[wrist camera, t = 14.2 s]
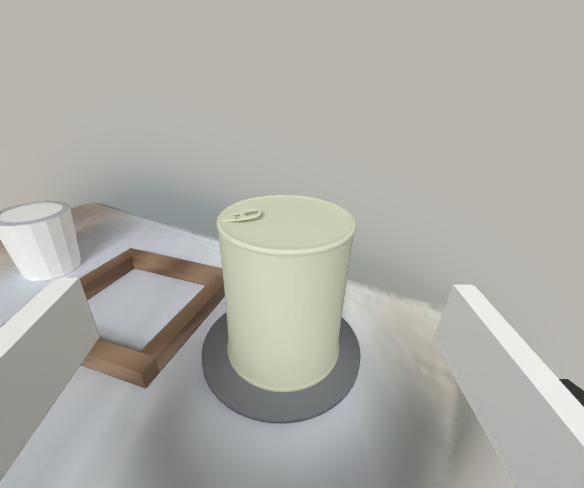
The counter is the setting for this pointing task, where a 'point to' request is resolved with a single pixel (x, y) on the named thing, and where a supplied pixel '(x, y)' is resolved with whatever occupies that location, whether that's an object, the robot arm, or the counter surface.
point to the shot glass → (40, 239)
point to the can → (284, 287)
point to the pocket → (173, 335)
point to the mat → (278, 404)
